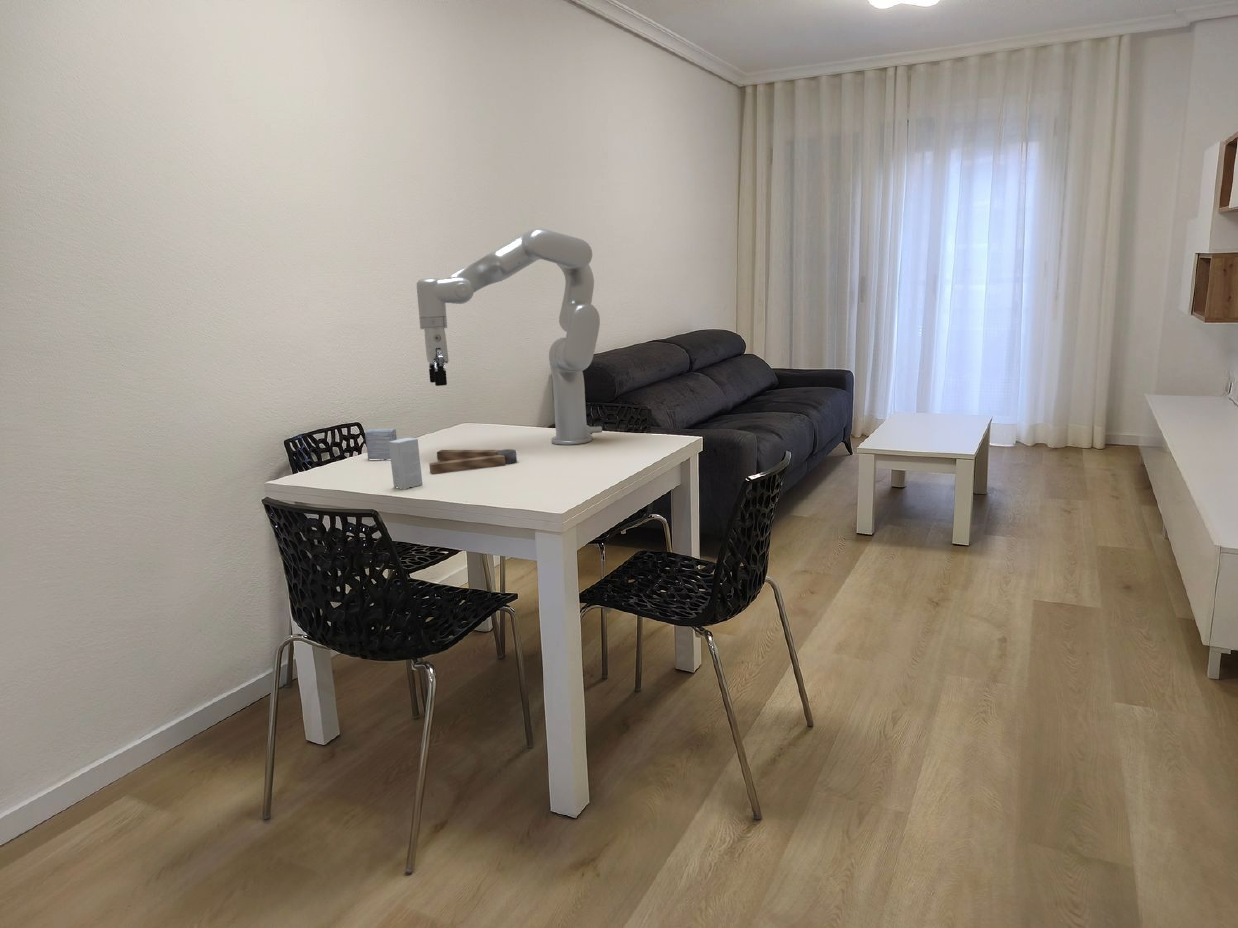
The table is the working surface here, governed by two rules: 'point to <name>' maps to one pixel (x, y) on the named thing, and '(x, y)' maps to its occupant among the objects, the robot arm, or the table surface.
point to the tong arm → (463, 454)
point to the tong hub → (475, 462)
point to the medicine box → (379, 443)
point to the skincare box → (405, 463)
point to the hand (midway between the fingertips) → (438, 383)
